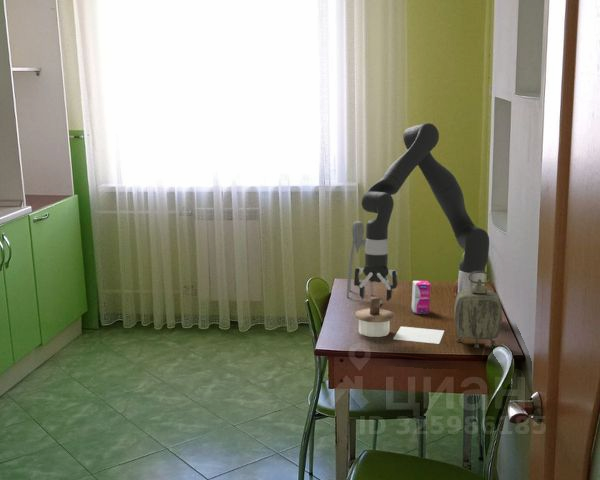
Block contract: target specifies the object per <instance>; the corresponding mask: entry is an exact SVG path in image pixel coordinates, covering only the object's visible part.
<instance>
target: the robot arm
mask: <svg viewBox="0 0 600 480" xmlns="http://www.w3.org/2000/svg"><path fill="white" fill-rule="evenodd" d="M439 138H440V133H439V130H438V128H437V127H436V125H434V124H433V123H429V122H427V123H426V122H425V123H421V124H417V125H413V126H410V127H408V128H406V129H405V130H404V133H403V143H404V145H405V148H406V149H407V150H406V151H405V152H404V153H403V154H401V156H399V158H397V159H396V160H395V161H394V162H392V164H390V165H389V167H388V168H387V170H386V171H385V172H384V174H383V175H382V176H381V178H380V179H379V180H378V181H377V182H375V183H374V184H373V185H372V186H370V187H369V188H368V189H367V190H366V191H365V192H364V194H363V195H362V198H361V207H362V209H363V210H364V211H365V212H367V213H373V214H375V213H376V214H377V215H376V218H375V219H370V220H368V221H367V222H366V225H365V228H366V229H365V230H366V232H365V239H366V243H365V247H364V268H363V267H360V266H357V267H356V268H355V270H354V278H353V279H354V281H353V285H354V286H355V287H358V288H359V297H360V298H361V299H365V297H366V296H365V295H366V294H365V293H366V286H365V285H366V284H367V283H368V281H369V282H370V281H371V282H372V283H374V282H375V283H382V284H383V285H384V286H385V288H386V301H390V300H391V299H392V297H393V296H392V295H393V294H392V293H393V289H396V288H397V287H398V285H399V283H398V270H397V269H395V268H394V269H389V267H388V262H389V261H388V259H389V258H388V255H389V243H388V228H389V223H390V219H391V216H392V212H393V210H394V204H395V203H394V198H393V197H392V196H393V195H396V194H397V193H398V192H399V190H400V189H401V187H402V186H403V185H404V183H405V182H406V180H407V179H408V178H409V176H410V175H411V173H412V172H413V171H414V170H415V168H416V167H419V169H420V171H421V173H422V175H423V176H424V179H425V180H426V181H427V183H428V185H429V187H430V190H431V192H432V193H433V195H434V198H435V200H436V201H437V203H438V205H439V206H440V207H441V210H442V211H443V213H444V215H445V216H446V218H447V220H448V222H449V223H450V227H451V229H452V231H453V234H454V237H455V239H456V241H457V244H458V245H459V247H461V248H462V249H463V250H464V257H463V260H461V261H460V262H459V264H458V279H457V280H458V292H460V291H462V290H471V288H472V287H473V286H474V285H477V284H476V283H473V282H471V281H470V280H469V278H468V277H469V274H470V273H472V272H474V271H485V272H486V266H487V264H488V262H489V261H488V260H489V251H490V236H489V234H488V232H487V231H486V230H485V229H483V228H480V227H478V226H477V225H475V224H474V222H473V221H472V219H471V217H470V215H469V214H468V212H467V209H466V204H465V197H464V194H463V190H462V189H461V186H460V184H459V182H458V180H457V179H456V177H455V175H454V174H453V173H452V172H451V171H450V170H449V169H447V168H446V167H445V166H444V165H442V164H441V163H440V162H439V161H437V159H436V158H435V157H434V156H433V154H432V153H431V152H432V150H433V149H434V148H435V147H437V145H438V142H439ZM361 274H364V275H365V276H366V277H365V278H364V279H363V280H362V281H360V278H361ZM388 275H390V277H392V284H391V282H390V281H389V279H388V277H387V276H388ZM485 277H486V274H485V273H474V274H472V275H471V276H470V279H471V280H473V281H476V282H478V280H479V279H480V280H481V282H485ZM481 285H484V286H485V284H481Z"/></svg>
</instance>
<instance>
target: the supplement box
mask: <svg viewBox="0 0 600 480" xmlns="http://www.w3.org/2000/svg"><path fill="white" fill-rule="evenodd" d="M431 285H432V284H431V283H430V282H429V281H428V280H412V290H411V291H412V292H411V311H412V313H413V314H414V315H417V314H418V315H421V314H422V315H425V314H426V315H430V304H431V303H430V301H431Z"/></svg>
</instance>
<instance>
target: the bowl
mask: <svg viewBox="0 0 600 480" xmlns="http://www.w3.org/2000/svg"><path fill="white" fill-rule="evenodd" d="M390 323H391V321H387V322H367V321H362V320H359V319H358V332H359V334H360V335H362V336H366V337H371V338H373V337H374V338H380V337H386V336H388V335H389V333H390V329H391V328H390V325H391V324H390Z"/></svg>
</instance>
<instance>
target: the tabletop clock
mask: <svg viewBox="0 0 600 480" xmlns="http://www.w3.org/2000/svg"><path fill="white" fill-rule="evenodd" d="M474 273H485V275H487V276H488V277H489V279H488V280H486V281H485V280H484V282H481V280H480V279H479V280H478V282H476V281H473V280H471V279H470V276H471V275H472V274H474ZM468 278H469V280H470V281H471V282H473V283H476V284H477V285H474V286H473V287H472V288H471V290H462V291H460V292H458V294H457V297H456V300H455V299H454V309H453V310H454V311H453V312H454V313H453V315H454V316H453V317H454V325H455V326H454V327H455V331H456V334H457V336H458V338H456V342H457V343H462V339H463V338H465V339H471V340H475V344H474V346H473V348H474V349H479V348H480V344H479V340H490V341H489V343H490V345H491V344H492V345H491V346H494V345H495V344H496V341H495V340H493V339H496V338H498V336H499V334H500V332H501V328H502V322H503V321H502V320H503V313H502V312H503V311H502V304H501V300H500V297H499V295H498V293H497V292H494V291H491V290H487V288H486V286H485V284H487V283H490V281H491V279H492V276H491V274H490V273H488V272H487V271H486V270H485V271H474V272H472V273H470V274H469V277H468ZM481 284H484V285H481Z"/></svg>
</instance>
